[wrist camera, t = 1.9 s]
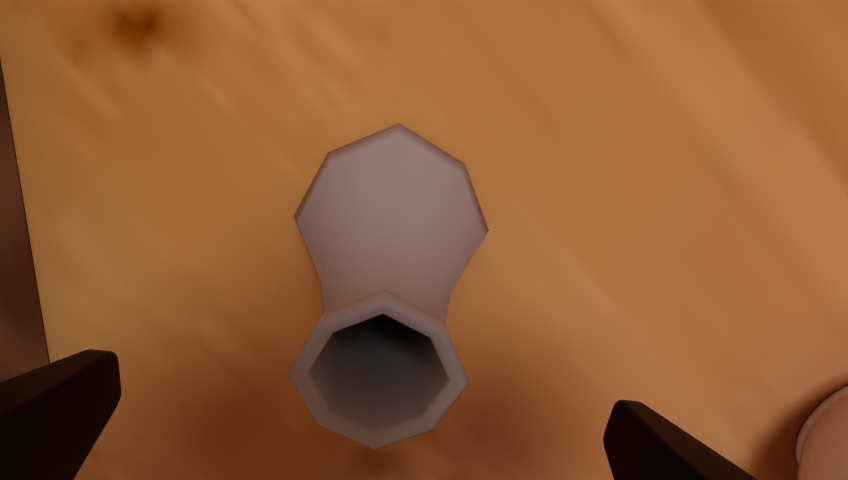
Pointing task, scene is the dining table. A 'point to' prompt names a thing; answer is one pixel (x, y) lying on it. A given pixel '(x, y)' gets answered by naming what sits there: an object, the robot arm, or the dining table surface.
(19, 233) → the cruet stand
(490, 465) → the dining table surface
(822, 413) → the lidded bowl
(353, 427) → the flask
